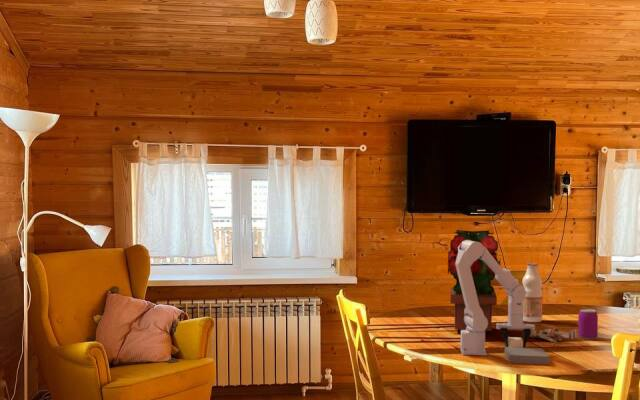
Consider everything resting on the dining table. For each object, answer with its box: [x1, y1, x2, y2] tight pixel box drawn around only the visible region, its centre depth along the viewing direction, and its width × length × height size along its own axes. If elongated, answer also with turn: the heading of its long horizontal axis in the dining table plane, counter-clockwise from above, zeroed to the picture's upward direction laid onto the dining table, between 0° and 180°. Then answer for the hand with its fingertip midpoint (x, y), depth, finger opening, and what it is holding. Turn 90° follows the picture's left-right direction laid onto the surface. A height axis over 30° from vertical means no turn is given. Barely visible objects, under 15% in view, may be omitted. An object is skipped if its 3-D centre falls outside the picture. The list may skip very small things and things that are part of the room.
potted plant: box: [447, 229, 501, 335], centre depth 289 cm, size 22×22×45 cm
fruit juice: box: [521, 262, 543, 323], centre depth 311 cm, size 9×9×28 cm
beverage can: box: [577, 308, 599, 341], centre depth 276 cm, size 8×8×12 cm
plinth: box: [504, 346, 550, 366], centre depth 242 cm, size 14×12×3 cm
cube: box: [508, 336, 523, 348], centre depth 254 cm, size 5×5×5 cm
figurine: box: [529, 328, 578, 344], centre depth 271 cm, size 6×6×20 cm
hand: (515, 347), depth 254 cm, fingers open, 6 cm apart
